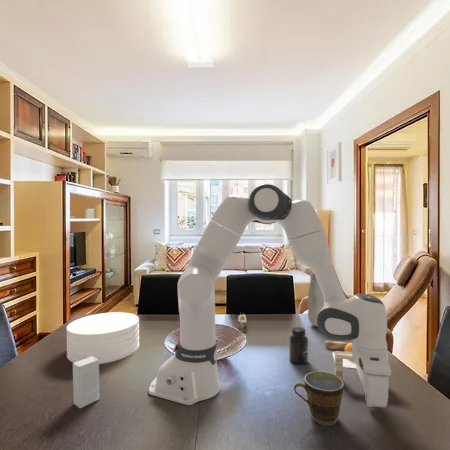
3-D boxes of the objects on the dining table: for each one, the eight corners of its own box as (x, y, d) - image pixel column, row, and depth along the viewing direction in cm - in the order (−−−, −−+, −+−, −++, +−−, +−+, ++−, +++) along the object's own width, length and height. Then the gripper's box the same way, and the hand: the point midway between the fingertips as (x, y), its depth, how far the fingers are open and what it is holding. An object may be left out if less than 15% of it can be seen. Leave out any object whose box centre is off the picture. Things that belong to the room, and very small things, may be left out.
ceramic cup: (335, 405, 85) (334, 370, 85) (351, 430, 75) (350, 390, 75) (289, 407, 84) (289, 371, 84) (299, 431, 74) (299, 391, 74)
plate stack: (52, 366, 111) (52, 335, 111) (85, 337, 139) (84, 312, 139) (128, 364, 112) (128, 333, 112) (145, 336, 140) (145, 311, 140)
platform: (230, 334, 142) (230, 320, 142) (230, 322, 160) (230, 309, 160) (255, 334, 141) (255, 320, 141) (253, 321, 159) (252, 309, 159)
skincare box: (92, 394, 92) (92, 355, 92) (100, 399, 89) (99, 359, 89) (72, 403, 87) (72, 362, 87) (79, 409, 84) (78, 367, 84)
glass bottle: (310, 321, 157) (309, 268, 157) (330, 324, 153) (330, 269, 152) (306, 327, 148) (305, 271, 148) (328, 330, 144) (327, 272, 144)
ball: (346, 359, 112) (346, 343, 113) (343, 355, 118) (343, 340, 118) (361, 360, 111) (361, 345, 112) (358, 357, 117) (357, 342, 117)
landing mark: (335, 366, 108) (335, 366, 108) (332, 352, 120) (332, 352, 120) (372, 370, 105) (372, 369, 105) (364, 355, 117) (364, 354, 117)
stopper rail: (325, 348, 124) (325, 342, 124) (325, 346, 126) (325, 340, 126) (367, 351, 120) (367, 345, 120) (366, 349, 122) (366, 343, 122)
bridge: (385, 388, 94) (385, 358, 94) (336, 382, 97) (336, 354, 97) (382, 383, 96) (382, 354, 96) (335, 378, 100) (334, 350, 100)
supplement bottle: (308, 365, 109) (308, 332, 109) (289, 364, 110) (289, 331, 110) (307, 357, 116) (307, 326, 115) (289, 356, 117) (289, 325, 117)
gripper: (350, 338, 94) (351, 382, 94) (365, 370, 74) (365, 425, 74) (372, 340, 92) (372, 385, 92) (393, 372, 72) (393, 429, 73)
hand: (369, 403), depth 83 cm, fingers closed
